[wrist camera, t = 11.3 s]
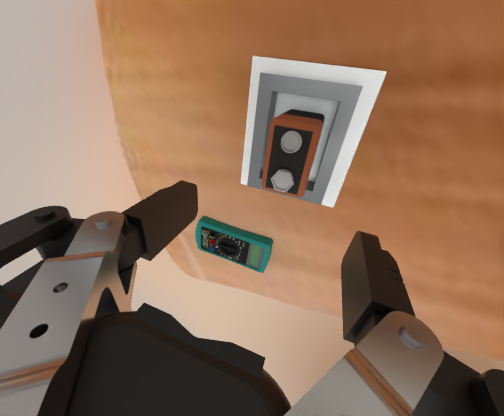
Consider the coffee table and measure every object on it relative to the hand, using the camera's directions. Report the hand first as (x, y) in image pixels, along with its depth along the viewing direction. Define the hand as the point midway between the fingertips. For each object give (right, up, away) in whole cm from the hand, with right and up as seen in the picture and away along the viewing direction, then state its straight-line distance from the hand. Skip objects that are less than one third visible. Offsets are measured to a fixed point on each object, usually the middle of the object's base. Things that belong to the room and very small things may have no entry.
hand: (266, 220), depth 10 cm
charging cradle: (+5, +10, +17) cm, 20 cm away
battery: (+5, +9, +16) cm, 19 cm away
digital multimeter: (-4, -6, +30) cm, 31 cm away
